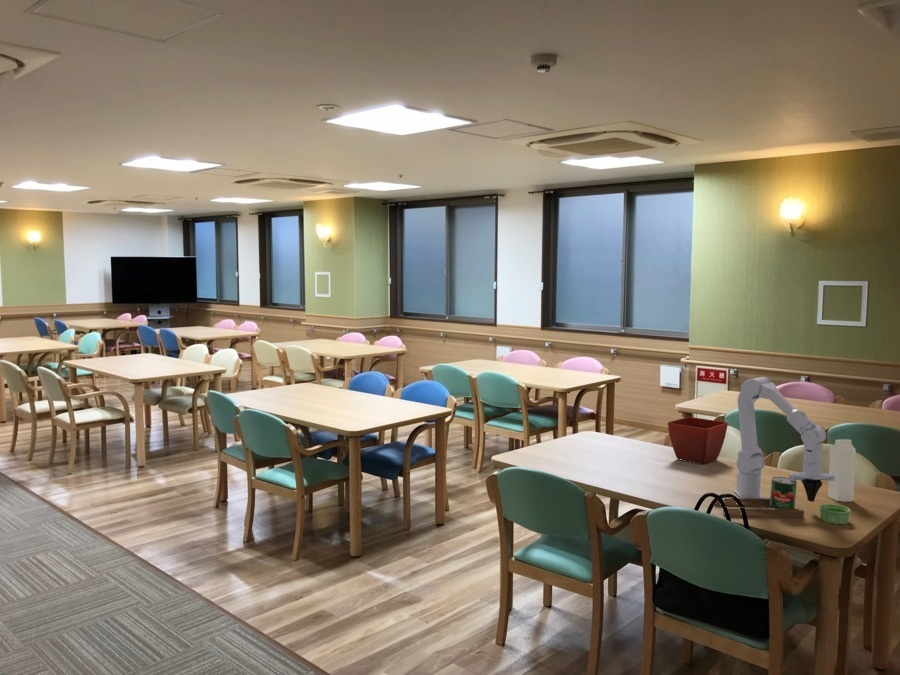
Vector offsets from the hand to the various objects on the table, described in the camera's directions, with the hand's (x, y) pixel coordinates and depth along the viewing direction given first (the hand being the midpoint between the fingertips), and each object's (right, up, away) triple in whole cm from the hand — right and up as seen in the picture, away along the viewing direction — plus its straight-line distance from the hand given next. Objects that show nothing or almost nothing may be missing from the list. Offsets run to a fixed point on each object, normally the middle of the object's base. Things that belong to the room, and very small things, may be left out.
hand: (810, 500), depth 247 cm
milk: (+18, -3, +15) cm, 24 cm away
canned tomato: (-10, -4, +1) cm, 10 cm away
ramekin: (+4, -5, -8) cm, 10 cm away
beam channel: (-18, -4, +1) cm, 18 cm away
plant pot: (-15, +2, +70) cm, 71 cm away
